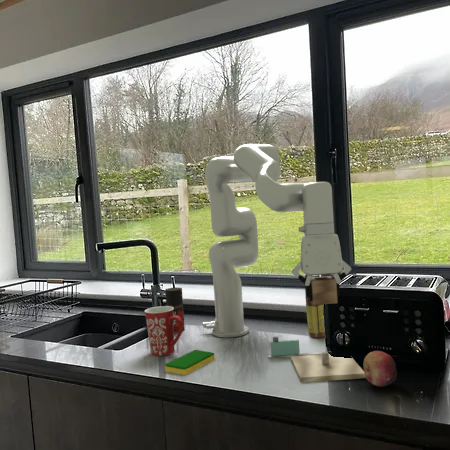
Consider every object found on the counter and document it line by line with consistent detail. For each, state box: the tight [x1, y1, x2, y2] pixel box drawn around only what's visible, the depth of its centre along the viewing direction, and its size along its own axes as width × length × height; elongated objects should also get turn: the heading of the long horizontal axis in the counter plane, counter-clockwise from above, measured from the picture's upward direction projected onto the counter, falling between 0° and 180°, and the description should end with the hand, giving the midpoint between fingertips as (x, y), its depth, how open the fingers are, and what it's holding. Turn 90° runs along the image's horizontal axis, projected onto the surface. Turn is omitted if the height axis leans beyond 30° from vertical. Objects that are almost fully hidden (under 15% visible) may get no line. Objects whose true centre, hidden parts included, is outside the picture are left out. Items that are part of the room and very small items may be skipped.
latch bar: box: [269, 336, 300, 356], centre depth 139 cm, size 8×2×5 cm, turn 91°
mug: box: [144, 305, 183, 357], centre depth 149 cm, size 13×9×14 cm
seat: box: [267, 351, 367, 383], centre depth 130 cm, size 22×21×4 cm
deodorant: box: [165, 287, 185, 334], centre depth 174 cm, size 6×6×15 cm
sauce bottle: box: [304, 275, 326, 339], centre depth 157 cm, size 7×6×20 cm
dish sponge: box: [164, 349, 215, 376], centre depth 137 cm, size 7×14×2 cm, turn 145°
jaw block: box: [310, 275, 338, 305], centre depth 126 cm, size 6×6×6 cm
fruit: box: [362, 350, 398, 388], centre depth 115 cm, size 8×8×8 cm
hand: (322, 298), depth 127 cm, fingers closed on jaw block, 6 cm apart
